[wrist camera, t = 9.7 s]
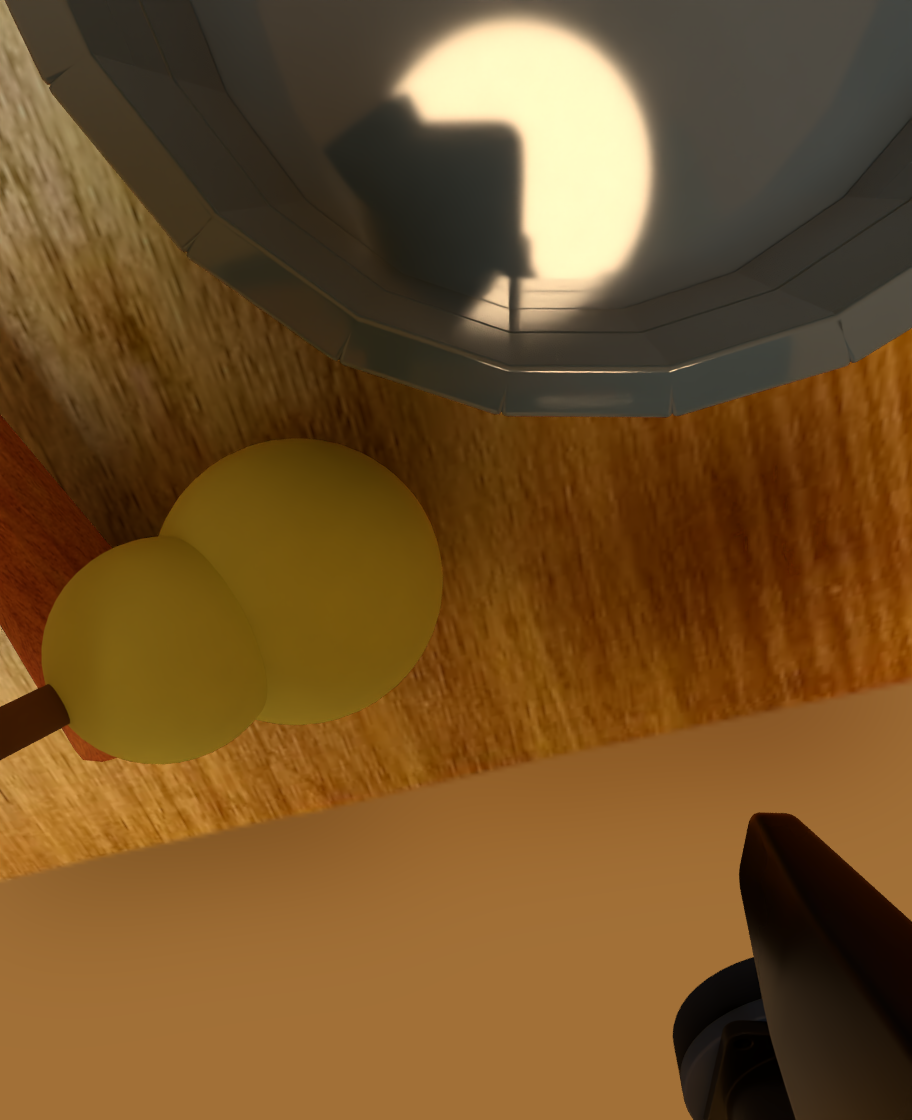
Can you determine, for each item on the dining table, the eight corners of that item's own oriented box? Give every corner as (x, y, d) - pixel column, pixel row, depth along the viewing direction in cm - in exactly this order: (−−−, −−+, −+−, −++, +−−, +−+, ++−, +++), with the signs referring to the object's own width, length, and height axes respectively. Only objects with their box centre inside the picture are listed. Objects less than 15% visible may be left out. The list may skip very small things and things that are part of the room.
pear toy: (501, 682, 16) (97, 985, 11) (337, 589, 20) (-37, 789, 14) (501, 441, 14) (-40, 689, 8) (310, 380, 17) (-167, 528, 11)
